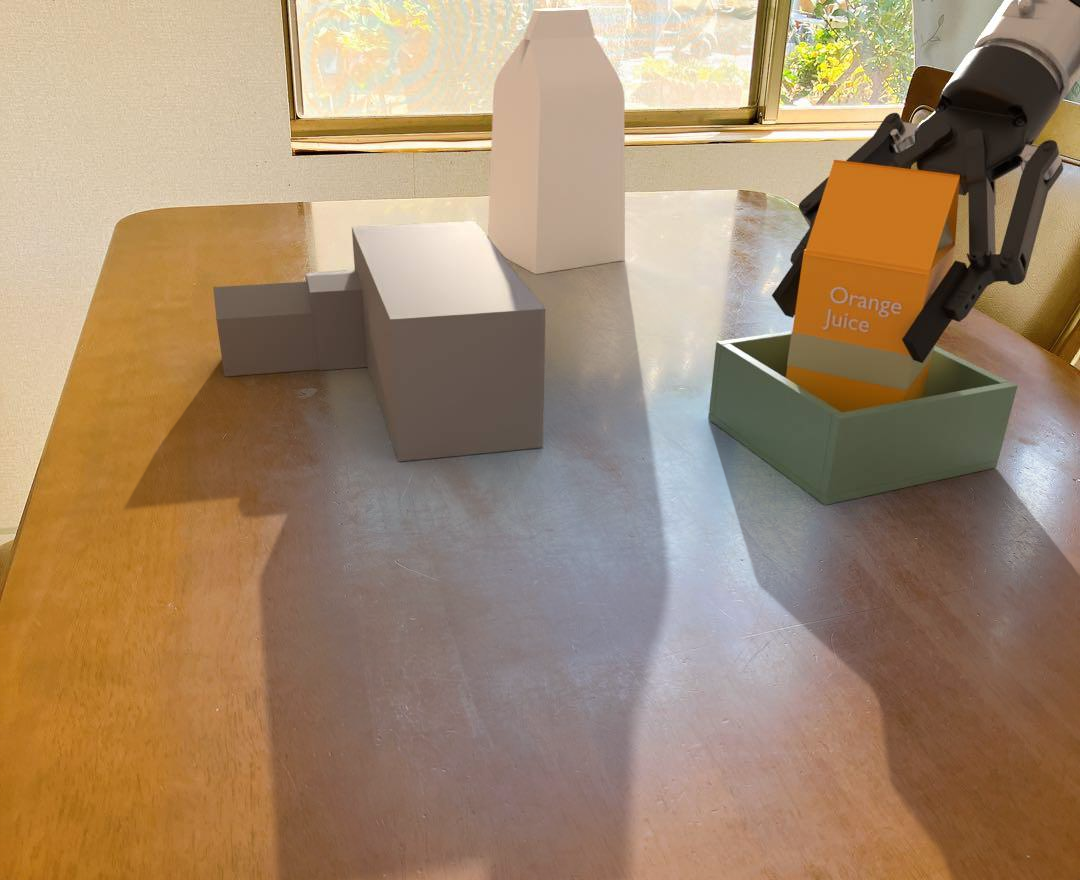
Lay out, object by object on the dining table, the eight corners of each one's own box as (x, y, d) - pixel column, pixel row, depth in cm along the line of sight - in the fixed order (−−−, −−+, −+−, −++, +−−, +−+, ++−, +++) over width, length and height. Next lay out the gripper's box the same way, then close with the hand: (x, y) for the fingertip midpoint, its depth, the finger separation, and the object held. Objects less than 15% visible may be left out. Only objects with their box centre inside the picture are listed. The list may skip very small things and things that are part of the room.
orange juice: (890, 467, 79) (947, 186, 69) (775, 439, 83) (813, 169, 72) (917, 429, 85) (974, 164, 74) (808, 404, 88) (848, 149, 78)
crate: (996, 467, 81) (1018, 385, 77) (824, 505, 75) (840, 418, 72) (863, 391, 93) (877, 317, 89) (707, 419, 87) (715, 341, 84)
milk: (535, 274, 120) (539, 15, 107) (487, 248, 129) (485, 6, 115) (624, 260, 125) (639, 12, 112) (573, 236, 134) (580, 3, 121)
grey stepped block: (223, 354, 98) (207, 233, 92) (476, 335, 103) (474, 220, 97) (226, 478, 77) (205, 332, 71) (542, 447, 82) (545, 308, 77)
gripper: (865, 24, 83) (704, 259, 82) (1172, 58, 67) (976, 347, 67) (894, 92, 88) (743, 312, 88) (1183, 138, 73) (1002, 406, 72)
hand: (843, 328), depth 77 cm, fingers closed on orange juice, 11 cm apart
